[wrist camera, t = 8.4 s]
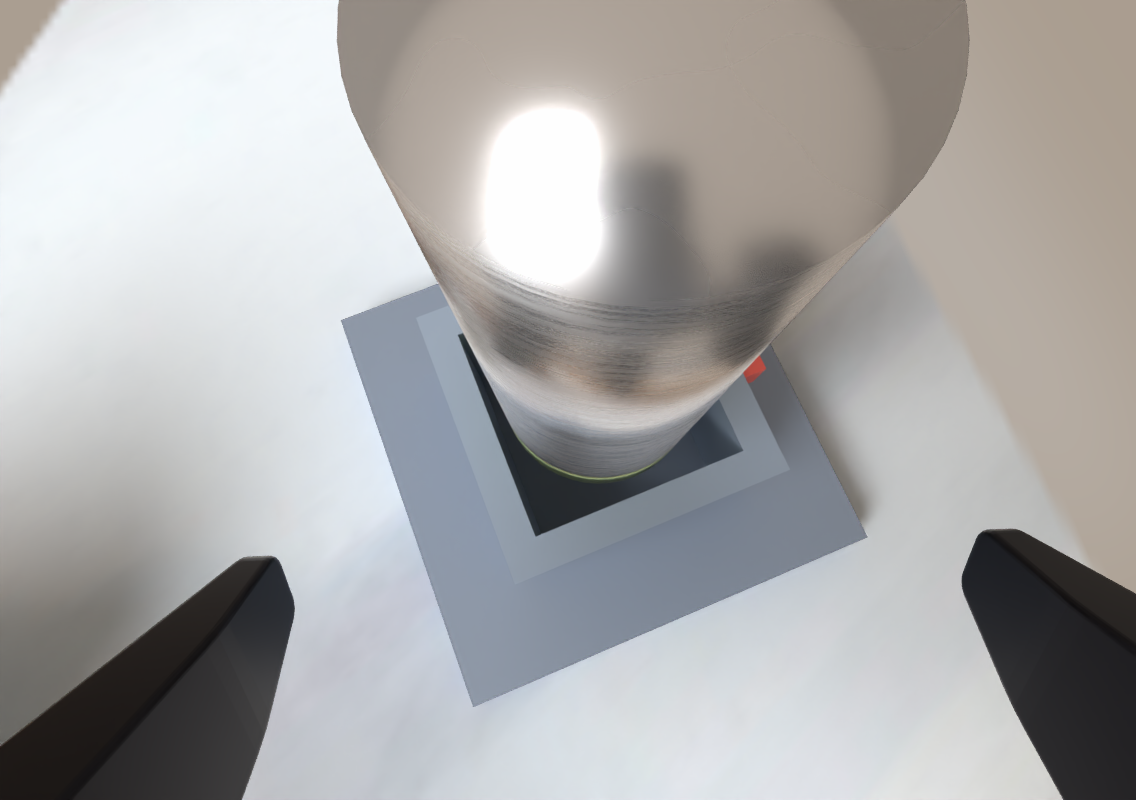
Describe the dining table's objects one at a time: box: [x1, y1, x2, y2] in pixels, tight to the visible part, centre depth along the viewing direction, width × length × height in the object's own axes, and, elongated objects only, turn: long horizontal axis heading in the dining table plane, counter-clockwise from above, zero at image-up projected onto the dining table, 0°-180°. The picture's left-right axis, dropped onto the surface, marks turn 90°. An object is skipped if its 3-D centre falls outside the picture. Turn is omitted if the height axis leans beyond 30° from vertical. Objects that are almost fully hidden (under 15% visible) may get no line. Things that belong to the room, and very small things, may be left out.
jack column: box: [337, 0, 969, 484], centre depth 10 cm, size 4×4×11 cm
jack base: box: [341, 284, 867, 707], centre depth 18 cm, size 12×12×5 cm
